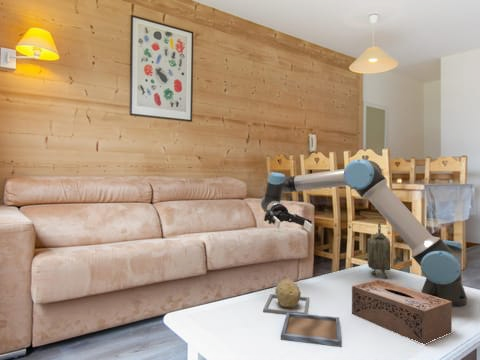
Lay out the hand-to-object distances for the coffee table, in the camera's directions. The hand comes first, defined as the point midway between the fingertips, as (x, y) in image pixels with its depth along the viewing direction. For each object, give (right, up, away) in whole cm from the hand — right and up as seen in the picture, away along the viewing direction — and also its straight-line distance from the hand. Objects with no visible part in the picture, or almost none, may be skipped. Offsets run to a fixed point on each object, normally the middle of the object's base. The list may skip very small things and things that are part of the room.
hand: (295, 226), depth 132 cm
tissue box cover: (+31, -29, -19) cm, 46 cm away
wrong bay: (-4, -28, -5) cm, 29 cm away
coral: (-4, -29, -5) cm, 29 cm away
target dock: (+1, -29, -24) cm, 38 cm away
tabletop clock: (+45, -28, +35) cm, 64 cm away
